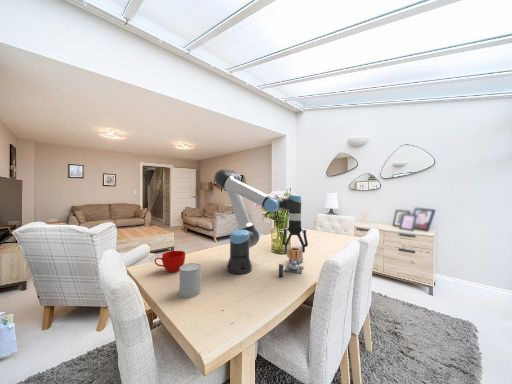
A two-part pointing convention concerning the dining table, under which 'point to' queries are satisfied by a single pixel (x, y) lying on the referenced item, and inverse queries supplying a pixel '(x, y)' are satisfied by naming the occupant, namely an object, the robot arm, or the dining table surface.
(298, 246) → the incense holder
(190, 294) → the grey cylinder
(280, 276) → the stand rod
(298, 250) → the collar
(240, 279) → the dining table surface
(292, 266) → the hub
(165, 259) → the ceramic cup
